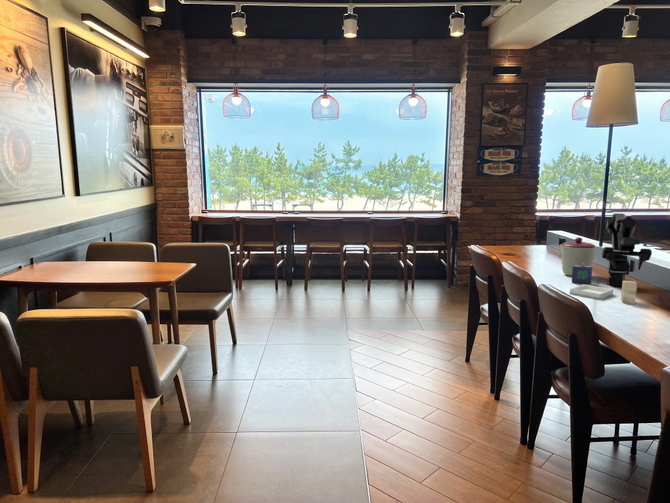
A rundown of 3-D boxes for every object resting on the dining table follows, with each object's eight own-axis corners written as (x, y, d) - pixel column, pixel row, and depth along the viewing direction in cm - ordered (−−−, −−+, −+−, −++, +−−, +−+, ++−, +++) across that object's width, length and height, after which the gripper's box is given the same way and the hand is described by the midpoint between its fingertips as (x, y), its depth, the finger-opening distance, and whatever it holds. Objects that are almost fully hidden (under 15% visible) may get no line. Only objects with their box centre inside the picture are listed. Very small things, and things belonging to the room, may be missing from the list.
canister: (595, 273, 263) (598, 236, 259) (594, 280, 247) (597, 240, 244) (559, 270, 272) (562, 234, 268) (556, 276, 257) (558, 238, 253)
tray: (583, 289, 229) (583, 284, 228) (612, 294, 218) (613, 289, 218) (569, 293, 221) (570, 288, 220) (599, 299, 210) (599, 294, 210)
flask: (590, 282, 242) (591, 262, 240) (592, 284, 239) (593, 263, 237) (570, 282, 244) (572, 262, 242) (572, 283, 241) (573, 263, 239)
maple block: (621, 300, 209) (622, 280, 207) (633, 301, 207) (634, 281, 205) (622, 303, 204) (624, 282, 203) (635, 304, 203) (637, 283, 201)
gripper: (605, 229, 216) (606, 257, 208) (652, 231, 209) (656, 259, 201) (601, 244, 225) (602, 271, 216) (647, 246, 217) (650, 274, 209)
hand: (627, 268), depth 210 cm, fingers open, 9 cm apart
